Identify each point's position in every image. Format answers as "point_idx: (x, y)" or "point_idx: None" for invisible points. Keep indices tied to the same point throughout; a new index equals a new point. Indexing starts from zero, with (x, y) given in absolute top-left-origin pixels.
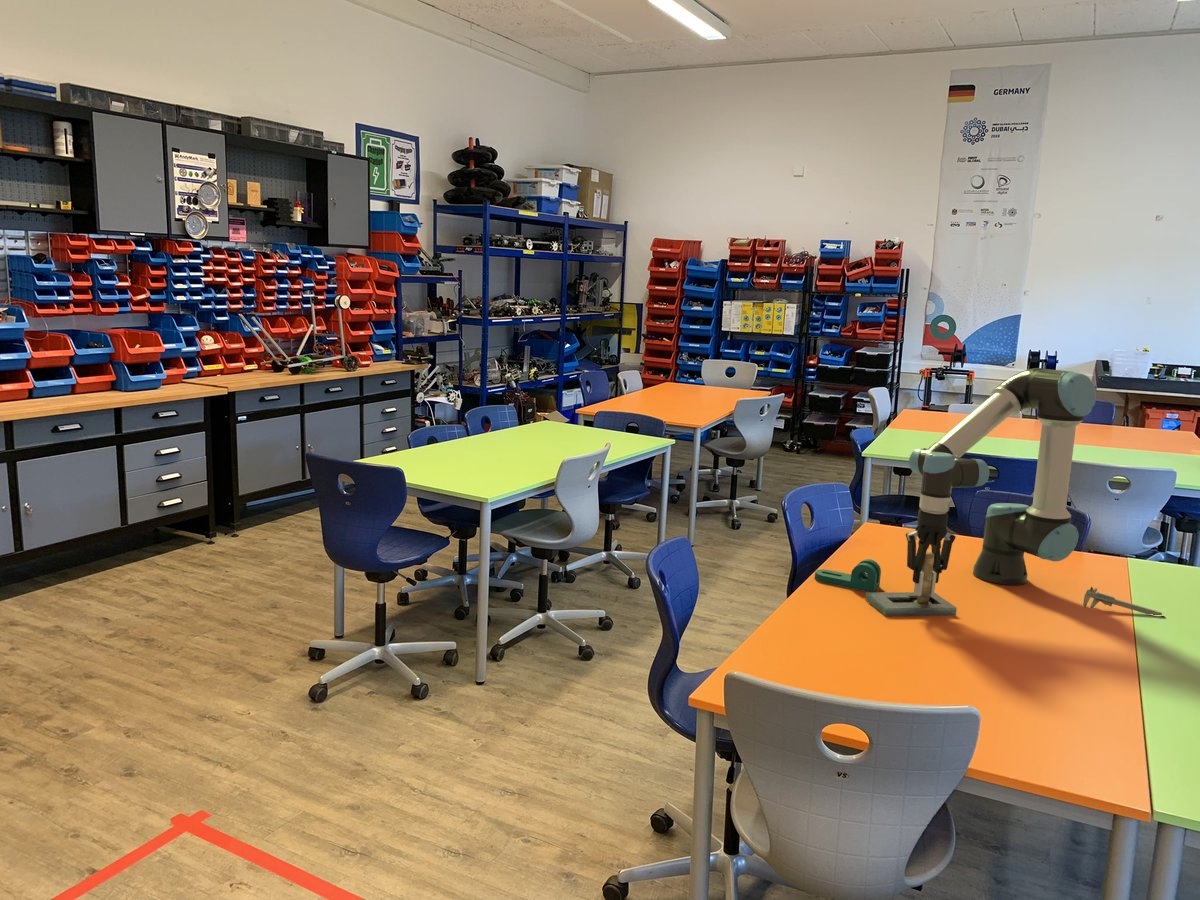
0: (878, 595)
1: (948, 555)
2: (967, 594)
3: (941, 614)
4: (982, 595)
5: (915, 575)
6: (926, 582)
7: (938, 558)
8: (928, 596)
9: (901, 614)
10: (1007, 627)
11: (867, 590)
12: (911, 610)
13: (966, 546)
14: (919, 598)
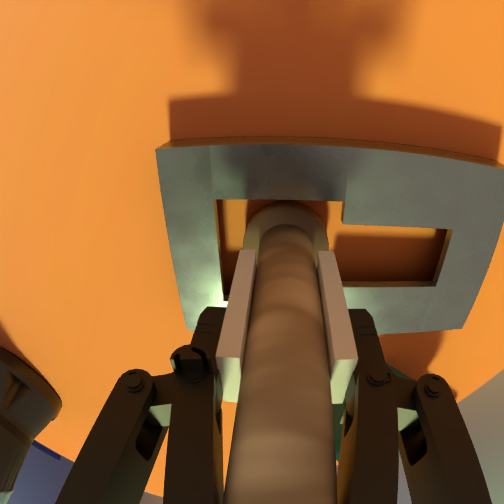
0: (447, 304)
1: (81, 475)
2: (75, 330)
3: (242, 138)
4: (43, 318)
5: (380, 350)
6: (299, 302)
7: (186, 476)
8: (273, 247)
9: (444, 151)
10: (33, 44)
11: (392, 370)
12: (411, 150)
13: (73, 451)
14: (313, 254)
